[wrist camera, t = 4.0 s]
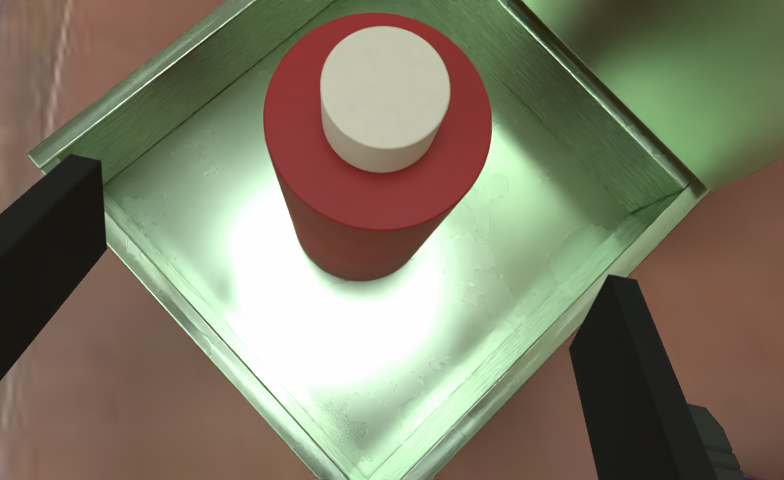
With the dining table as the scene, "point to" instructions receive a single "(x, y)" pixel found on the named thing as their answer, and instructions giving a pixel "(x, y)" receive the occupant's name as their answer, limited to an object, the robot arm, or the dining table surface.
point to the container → (750, 478)
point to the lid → (688, 73)
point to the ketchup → (374, 139)
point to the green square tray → (412, 281)
